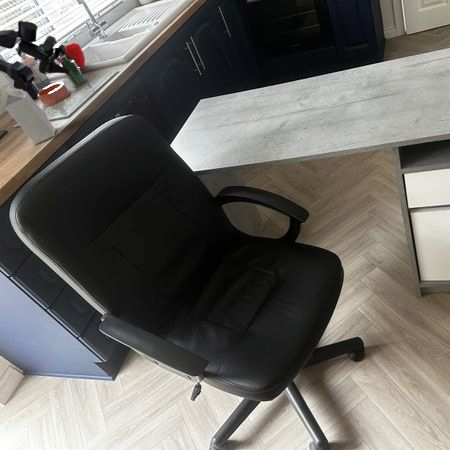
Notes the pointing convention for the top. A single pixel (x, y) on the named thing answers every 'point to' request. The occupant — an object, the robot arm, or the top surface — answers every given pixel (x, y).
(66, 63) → the green bottle
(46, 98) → the pot
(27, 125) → the milk carton
